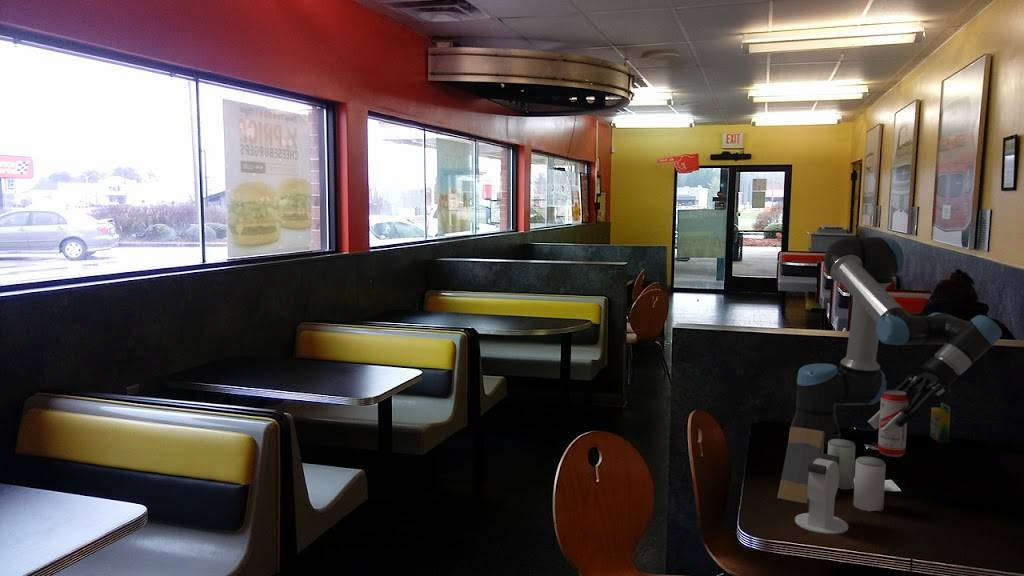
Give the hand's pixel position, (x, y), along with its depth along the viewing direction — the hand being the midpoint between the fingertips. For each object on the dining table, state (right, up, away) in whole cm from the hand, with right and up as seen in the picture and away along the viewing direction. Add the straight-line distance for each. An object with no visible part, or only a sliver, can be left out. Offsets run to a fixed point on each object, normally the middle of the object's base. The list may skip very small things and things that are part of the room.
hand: (878, 429), depth 192 cm
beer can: (+4, -7, +1) cm, 8 cm away
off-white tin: (-6, -17, -8) cm, 20 cm away
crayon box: (+43, -13, +49) cm, 66 cm away
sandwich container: (-19, -17, +2) cm, 26 cm away
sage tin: (-7, -16, +7) cm, 19 cm away
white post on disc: (-22, -18, -18) cm, 34 cm away
